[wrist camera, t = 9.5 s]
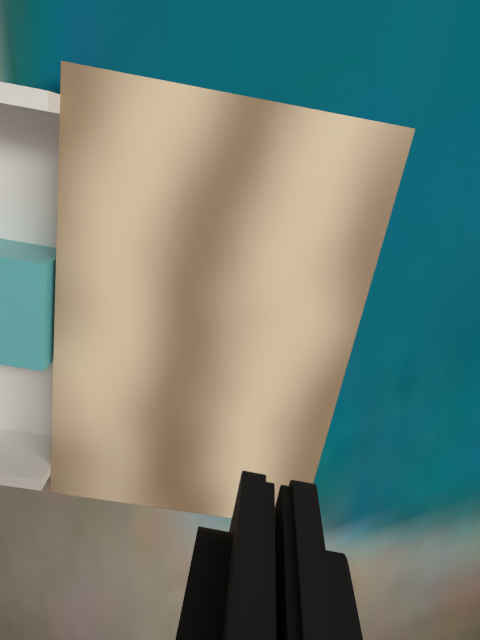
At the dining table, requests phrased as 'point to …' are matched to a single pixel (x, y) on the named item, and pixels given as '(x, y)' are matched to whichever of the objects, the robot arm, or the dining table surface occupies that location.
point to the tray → (36, 228)
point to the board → (206, 284)
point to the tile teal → (27, 304)
